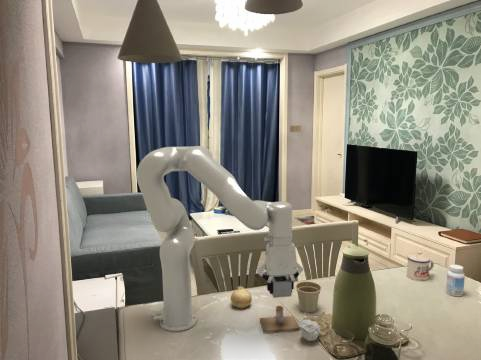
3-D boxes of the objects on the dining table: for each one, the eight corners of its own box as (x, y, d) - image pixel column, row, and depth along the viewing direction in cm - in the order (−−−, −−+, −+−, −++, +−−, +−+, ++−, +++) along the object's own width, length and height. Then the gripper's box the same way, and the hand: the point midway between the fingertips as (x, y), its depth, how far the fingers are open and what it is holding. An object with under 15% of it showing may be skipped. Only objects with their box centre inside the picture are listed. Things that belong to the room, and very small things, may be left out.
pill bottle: (463, 292, 157) (466, 265, 155) (462, 298, 152) (465, 270, 150) (446, 288, 160) (448, 262, 158) (444, 294, 155) (447, 267, 153)
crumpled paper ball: (294, 339, 125) (295, 319, 124) (309, 332, 129) (310, 312, 128) (309, 348, 120) (309, 327, 119) (324, 340, 125) (324, 320, 123)
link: (273, 297, 128) (273, 283, 127) (269, 289, 134) (269, 275, 133) (291, 296, 129) (291, 281, 128) (287, 288, 135) (287, 274, 134)
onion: (255, 303, 149) (255, 285, 148) (245, 312, 142) (245, 294, 141) (237, 298, 153) (236, 281, 152) (226, 307, 146) (226, 289, 145)
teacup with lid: (414, 282, 167) (416, 256, 165) (401, 273, 176) (403, 248, 174) (439, 279, 169) (441, 253, 167) (425, 271, 178) (427, 246, 176)
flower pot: (320, 316, 139) (321, 293, 138) (294, 313, 141) (294, 291, 140) (321, 303, 148) (321, 282, 147) (295, 301, 150) (296, 280, 149)
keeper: (264, 333, 129) (264, 314, 128) (259, 320, 137) (259, 303, 136) (299, 330, 130) (300, 312, 129) (293, 318, 138) (293, 301, 137)
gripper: (256, 245, 124) (256, 298, 127) (309, 242, 126) (308, 295, 129) (252, 237, 131) (253, 288, 134) (302, 235, 133) (302, 285, 136)
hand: (280, 291), depth 131 cm, fingers closed on link, 6 cm apart
